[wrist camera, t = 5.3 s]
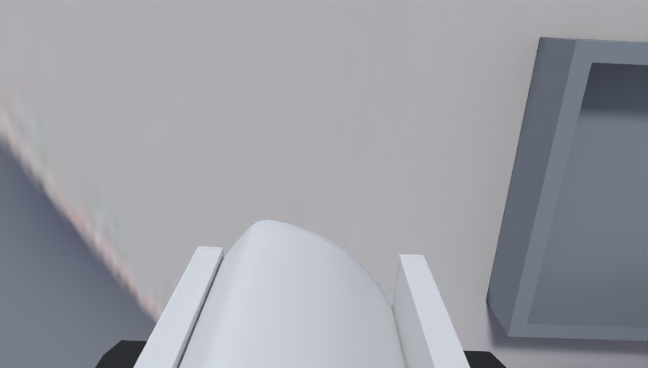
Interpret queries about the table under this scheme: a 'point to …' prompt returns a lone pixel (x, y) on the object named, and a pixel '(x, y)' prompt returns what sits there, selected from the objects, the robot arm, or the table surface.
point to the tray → (578, 198)
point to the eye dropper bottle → (293, 307)
